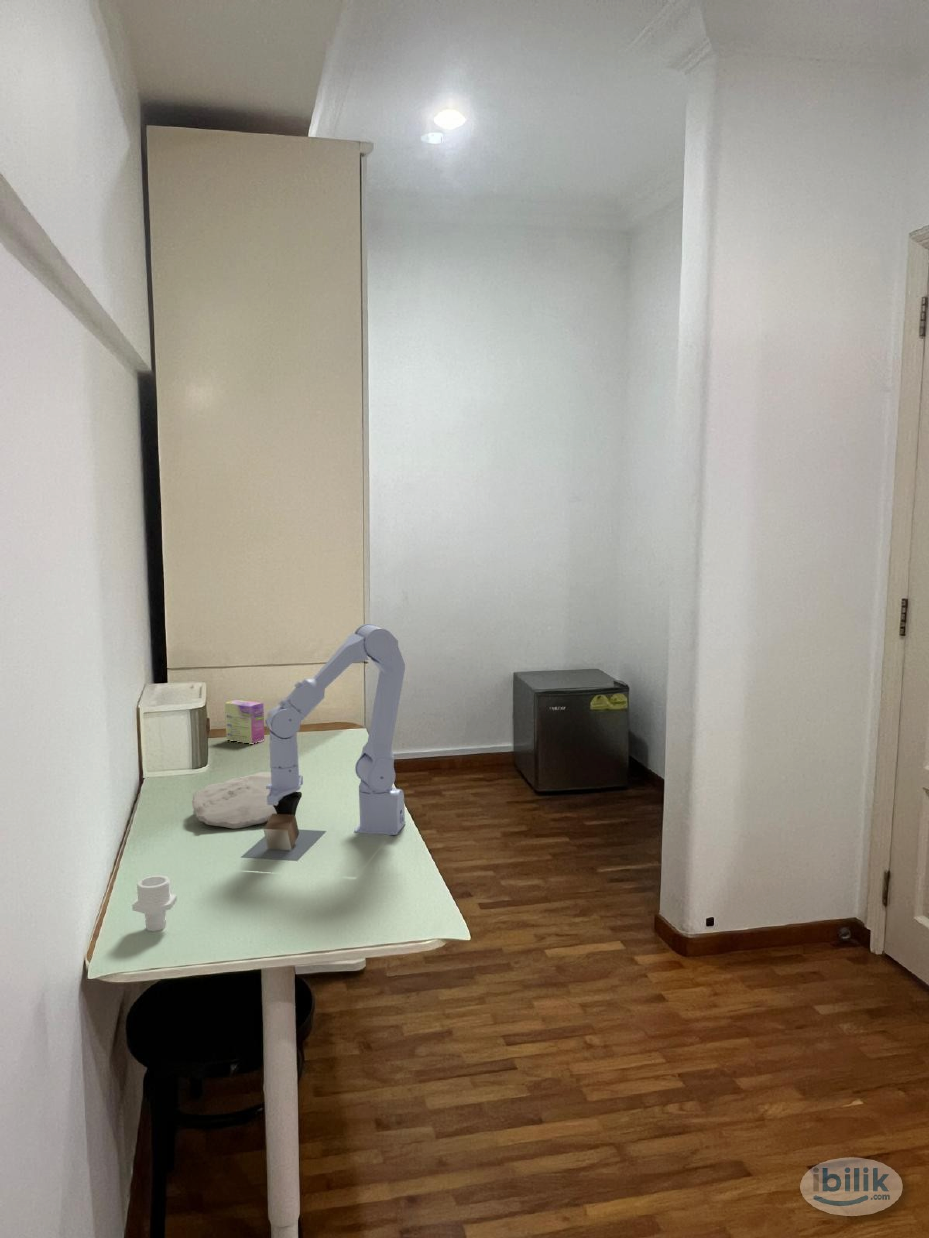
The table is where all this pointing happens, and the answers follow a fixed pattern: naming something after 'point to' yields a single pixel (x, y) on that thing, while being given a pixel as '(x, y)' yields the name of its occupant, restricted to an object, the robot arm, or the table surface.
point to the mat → (298, 850)
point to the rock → (235, 802)
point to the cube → (281, 831)
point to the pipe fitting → (154, 901)
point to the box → (244, 721)
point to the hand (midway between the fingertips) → (287, 828)
